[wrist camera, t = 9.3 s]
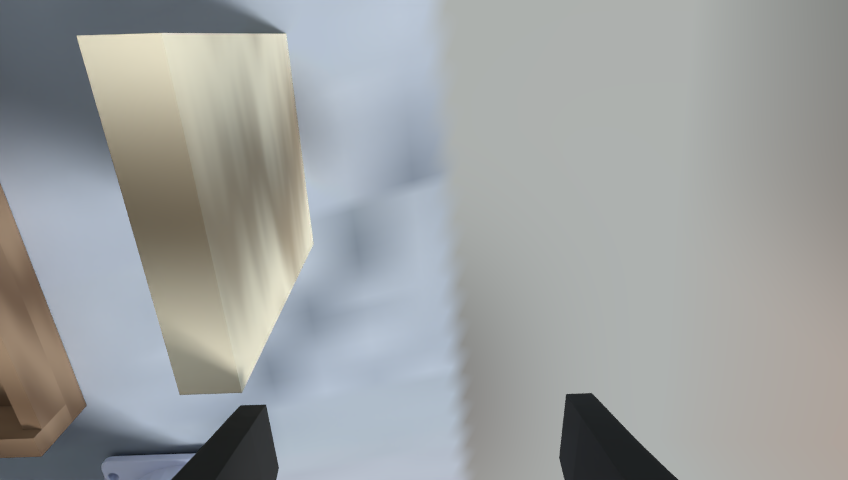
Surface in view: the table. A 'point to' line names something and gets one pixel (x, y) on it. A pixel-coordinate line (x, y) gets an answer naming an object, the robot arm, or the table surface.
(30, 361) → the walnut rack
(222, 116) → the birch block
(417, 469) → the table surface
